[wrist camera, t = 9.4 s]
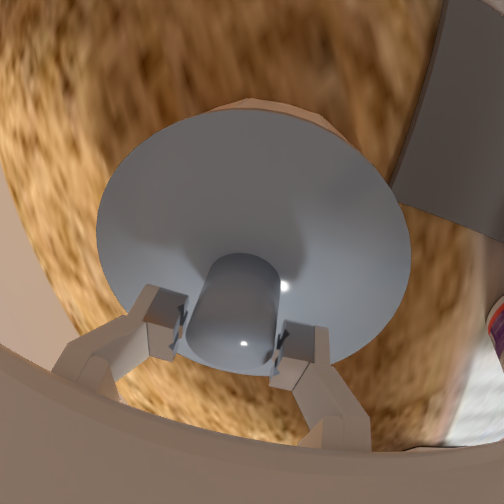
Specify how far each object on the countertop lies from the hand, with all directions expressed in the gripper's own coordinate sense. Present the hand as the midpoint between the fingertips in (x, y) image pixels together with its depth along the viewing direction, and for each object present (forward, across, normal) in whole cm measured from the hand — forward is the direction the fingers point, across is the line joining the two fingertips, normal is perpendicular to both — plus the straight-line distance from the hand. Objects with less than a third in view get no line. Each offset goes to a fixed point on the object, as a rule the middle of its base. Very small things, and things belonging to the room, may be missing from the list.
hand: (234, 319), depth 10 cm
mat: (+8, -12, -9) cm, 17 cm away
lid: (+3, 0, 0) cm, 3 cm away
